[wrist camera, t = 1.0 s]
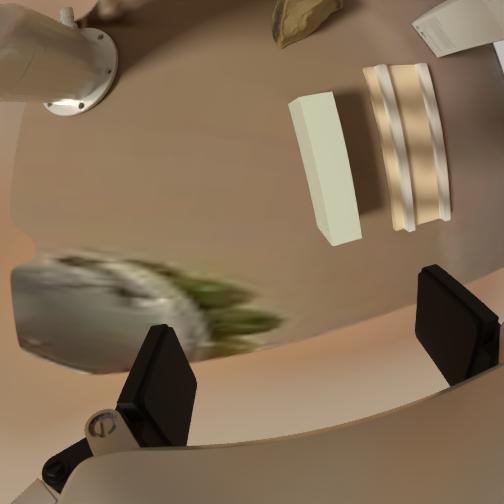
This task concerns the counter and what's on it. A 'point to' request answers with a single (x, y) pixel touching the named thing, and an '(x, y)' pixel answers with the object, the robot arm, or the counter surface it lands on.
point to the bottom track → (410, 143)
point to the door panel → (326, 166)
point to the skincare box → (461, 25)
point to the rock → (300, 18)
